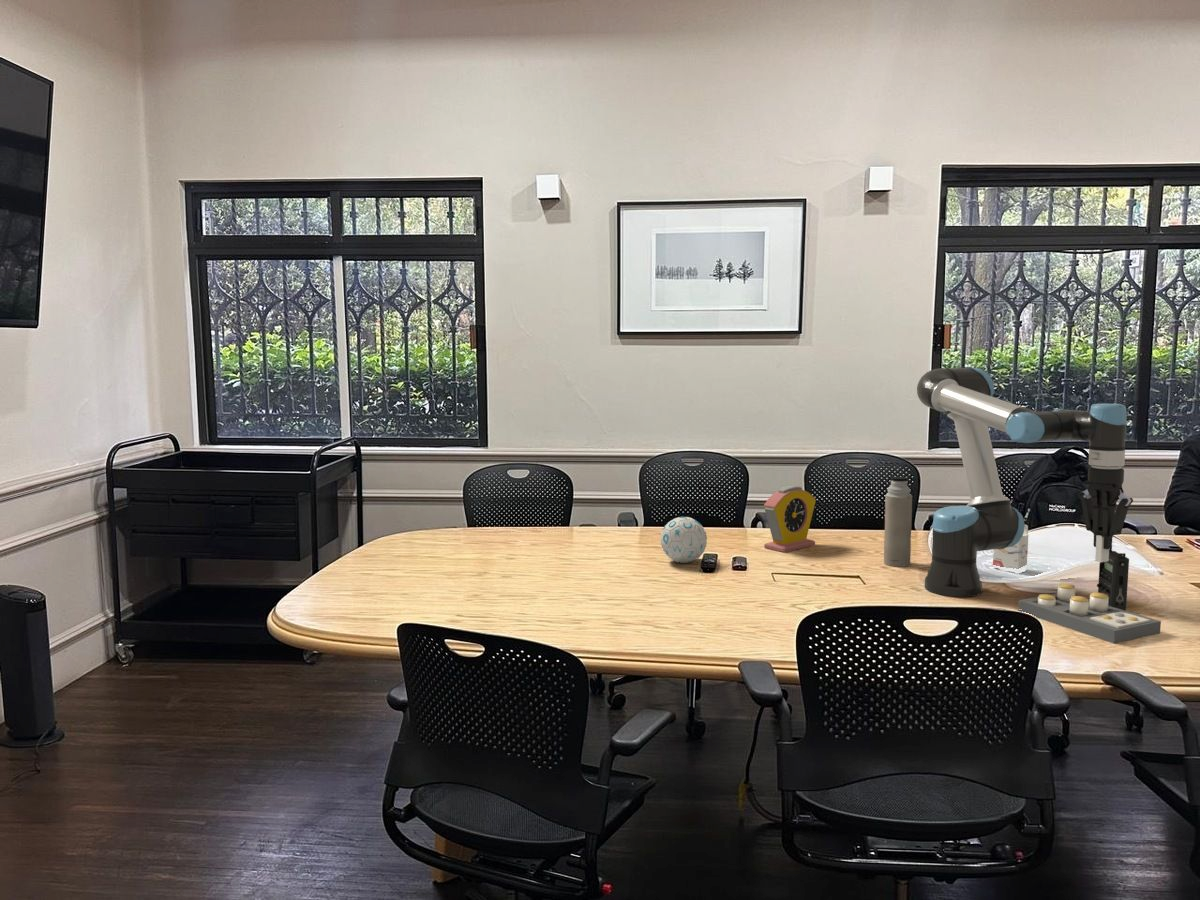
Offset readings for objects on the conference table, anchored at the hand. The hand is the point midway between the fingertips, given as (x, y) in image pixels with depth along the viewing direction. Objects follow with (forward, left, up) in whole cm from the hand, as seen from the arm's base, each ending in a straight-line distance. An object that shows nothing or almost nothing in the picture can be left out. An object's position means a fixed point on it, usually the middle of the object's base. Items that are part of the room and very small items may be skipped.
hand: (1101, 561), depth 203 cm
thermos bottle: (-65, -5, -16) cm, 67 cm away
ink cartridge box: (-44, +20, -16) cm, 50 cm away
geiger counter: (-8, +15, -16) cm, 23 cm away
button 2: (-9, 0, -13) cm, 16 cm away
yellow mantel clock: (-99, -22, -16) cm, 102 cm away
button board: (-1, -3, -15) cm, 16 cm away
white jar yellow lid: (0, -7, -13) cm, 15 cm away
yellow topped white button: (0, 0, -13) cm, 13 cm away
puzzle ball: (-97, -65, -16) cm, 118 cm away
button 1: (-9, -7, -15) cm, 19 cm away
